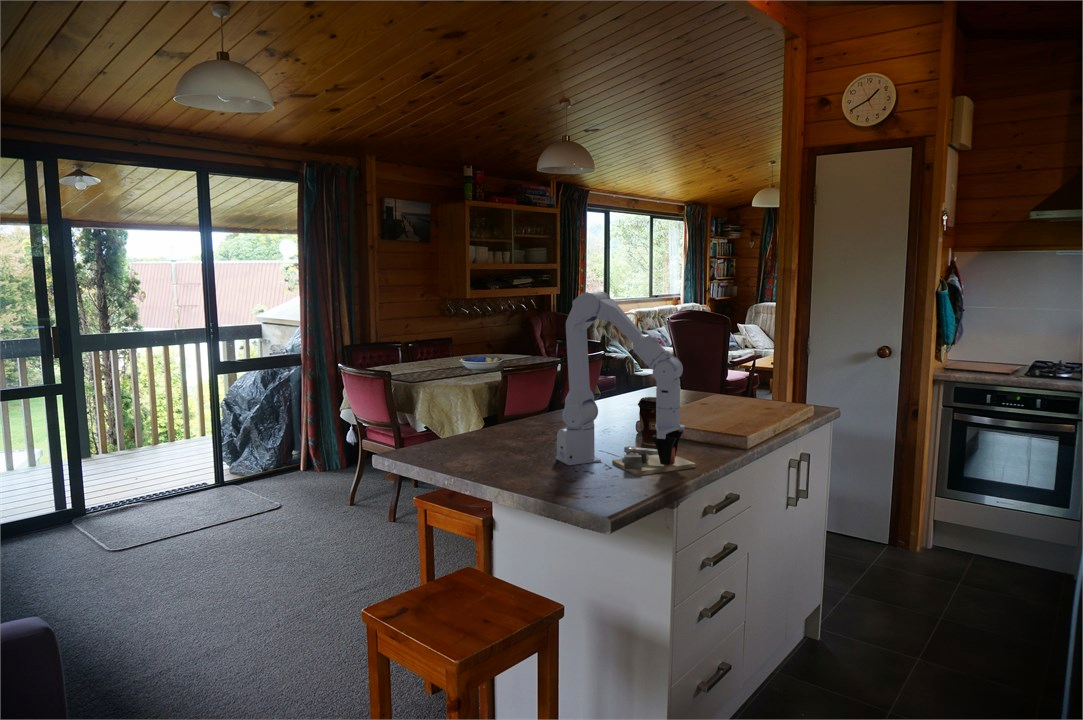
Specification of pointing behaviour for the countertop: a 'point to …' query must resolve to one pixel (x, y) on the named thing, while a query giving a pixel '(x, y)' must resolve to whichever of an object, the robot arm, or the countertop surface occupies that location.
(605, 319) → the robot arm
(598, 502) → the countertop surface
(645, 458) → the lever
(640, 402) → the coffee cup
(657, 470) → the cracker base
